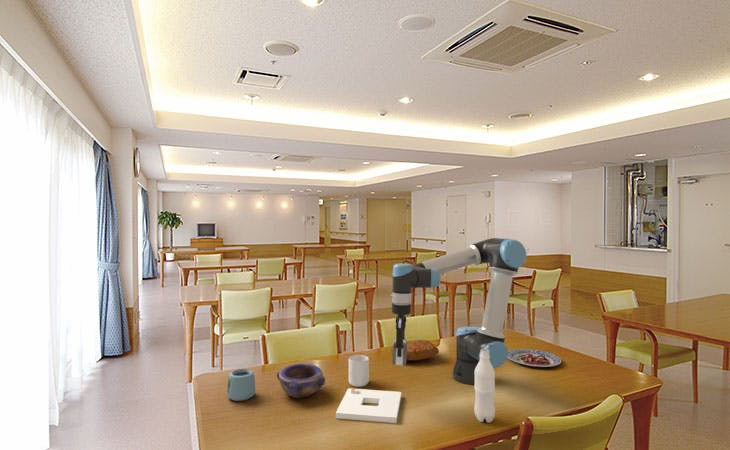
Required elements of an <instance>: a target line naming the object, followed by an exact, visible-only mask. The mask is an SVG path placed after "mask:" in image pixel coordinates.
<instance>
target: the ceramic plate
mask: <svg viewBox="0 0 730 450" xmlns="http://www.w3.org/2000/svg"><path fill="white" fill-rule="evenodd" d="M507 359H509V360H510V361H513V362H515V363H517V364H521V365H525V366H529V367H536V368H537V367H538V368H549V367H555V366H558V365H560V364H561V363H562V359H561V358H560V357H559V356H557V355H555V354H553V353H550V352H547V351H544V350H537V349H525V348H522V349H512V350H510V351H509V350H508V356H507Z"/></svg>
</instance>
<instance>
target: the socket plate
mask: <svg viewBox="0 0 730 450" xmlns="http://www.w3.org/2000/svg"><path fill="white" fill-rule="evenodd" d="M401 401H402V392H401V391H393V390H381V389H380V390H379V389H378V390H375V389H363V388H347V389H346V392H345V394H344V395H343V398H342V399H341V401H340V403H339V405H338V407H337V410H336V411H335V419H340V420H341V419H342V420H352V421H353V420H354V421H366V422H375V423H376V422H377V423H386V424H387V423H389V424H390V423H391V424H397V423H398V417H399V412H400V406H401ZM364 403H365V404H378V405H365V404H364Z"/></svg>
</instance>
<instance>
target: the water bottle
mask: <svg viewBox="0 0 730 450" xmlns="http://www.w3.org/2000/svg"><path fill="white" fill-rule="evenodd" d="M480 353H481V354H480V361H479V363H478V364H477V366H476V368H475V372H474V374H475V384H474V393H475V398H474V399H475V401H474V407H473V409H474V411H473V412H474V413H473V414H474V416H475V417H476V420H478V422H480V423H483V422H484V420H485V421H486V423H489V424H490V423H492V421H493V420H494V419H495V417H496V410H495V408H496V407H495V402H494V401H495V399H494V398H495V391H496V387H495V386H496V384H495V383H496V372H495V368H493V367H492V365H491V363H490V360H489V358H490V355H489V350H487V349H481V350H480Z"/></svg>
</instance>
